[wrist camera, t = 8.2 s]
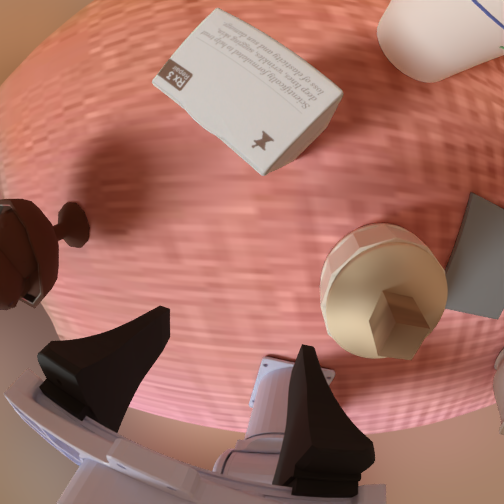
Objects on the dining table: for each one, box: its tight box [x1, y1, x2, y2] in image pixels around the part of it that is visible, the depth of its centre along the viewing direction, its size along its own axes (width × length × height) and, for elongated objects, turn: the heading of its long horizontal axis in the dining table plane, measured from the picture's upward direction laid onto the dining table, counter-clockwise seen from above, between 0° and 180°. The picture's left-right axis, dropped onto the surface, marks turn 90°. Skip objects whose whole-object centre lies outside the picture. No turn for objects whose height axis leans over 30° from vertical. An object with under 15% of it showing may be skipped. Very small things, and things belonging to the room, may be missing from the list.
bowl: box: [320, 223, 445, 339], centre depth 20 cm, size 10×10×4 cm
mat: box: [445, 193, 504, 319], centre depth 18 cm, size 11×11×1 cm
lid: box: [326, 242, 448, 360], centre depth 16 cm, size 10×10×5 cm
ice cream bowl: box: [0, 199, 89, 310], centre depth 19 cm, size 11×11×15 cm
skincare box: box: [152, 8, 343, 176], centre depth 13 cm, size 6×4×12 cm
